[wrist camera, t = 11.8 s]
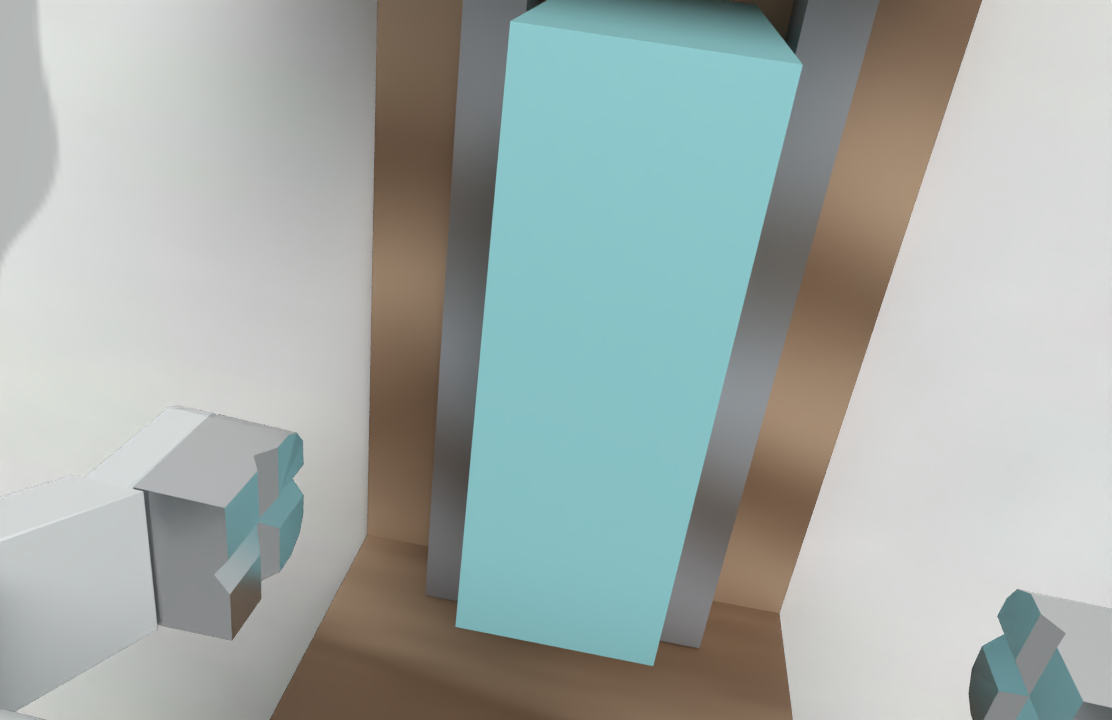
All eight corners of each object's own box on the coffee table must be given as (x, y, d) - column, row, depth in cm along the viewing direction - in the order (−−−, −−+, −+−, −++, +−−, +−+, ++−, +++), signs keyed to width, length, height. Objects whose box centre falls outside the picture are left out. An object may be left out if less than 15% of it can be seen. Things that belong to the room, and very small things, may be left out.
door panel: (665, 424, 22) (652, 666, 15) (531, 399, 22) (455, 626, 15) (756, 4, 17) (802, 65, 10) (584, -21, 17) (510, 20, 10)
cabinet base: (763, 626, 26) (808, 1055, 16) (377, 551, 26) (196, 917, 17) (1099, -414, 14) (1952, -1109, 5) (405, -488, 15) (-104, -1211, 5)
